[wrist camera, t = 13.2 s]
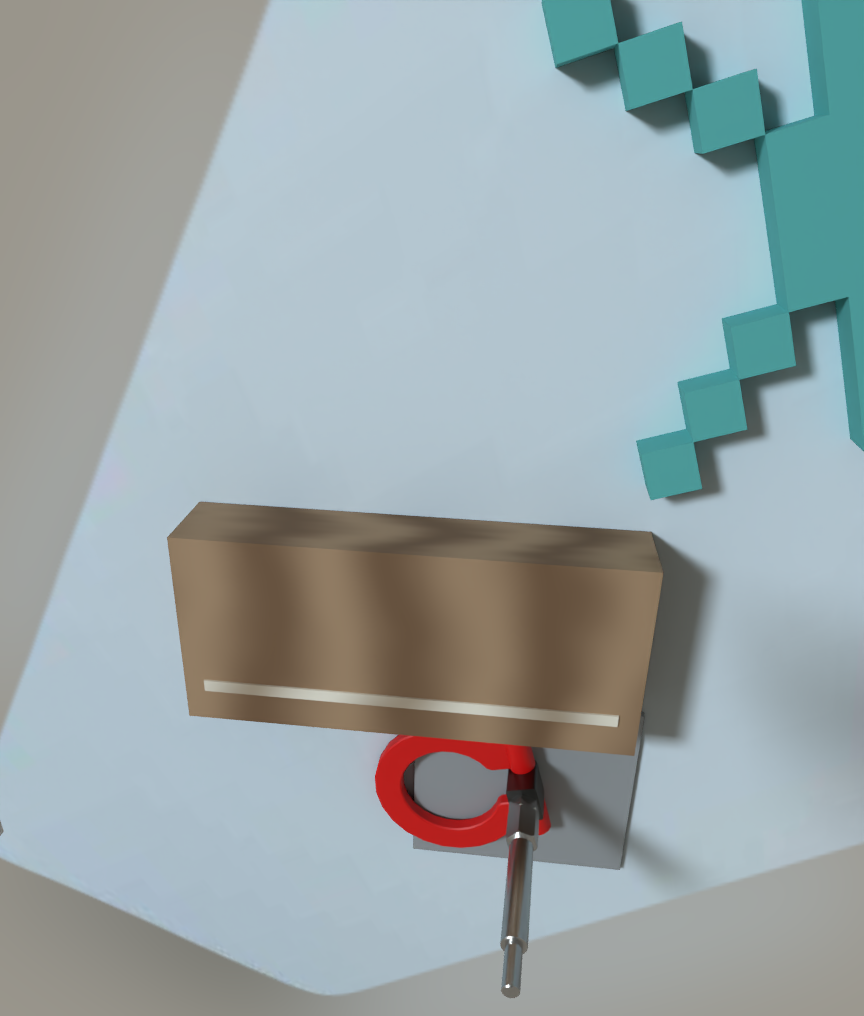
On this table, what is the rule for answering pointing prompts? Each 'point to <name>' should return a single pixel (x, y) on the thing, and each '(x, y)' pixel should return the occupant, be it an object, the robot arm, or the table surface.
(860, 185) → the alien figure
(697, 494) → the table surface
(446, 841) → the tow hook
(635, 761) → the mat
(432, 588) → the walnut board
